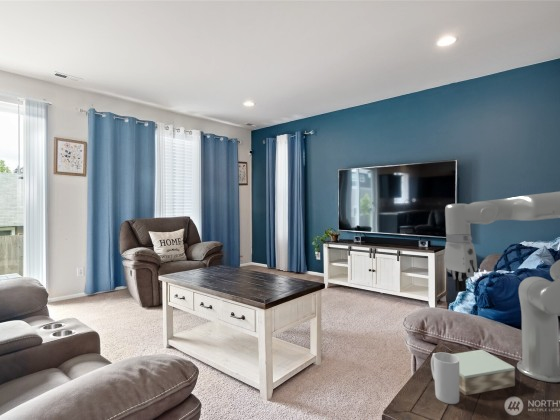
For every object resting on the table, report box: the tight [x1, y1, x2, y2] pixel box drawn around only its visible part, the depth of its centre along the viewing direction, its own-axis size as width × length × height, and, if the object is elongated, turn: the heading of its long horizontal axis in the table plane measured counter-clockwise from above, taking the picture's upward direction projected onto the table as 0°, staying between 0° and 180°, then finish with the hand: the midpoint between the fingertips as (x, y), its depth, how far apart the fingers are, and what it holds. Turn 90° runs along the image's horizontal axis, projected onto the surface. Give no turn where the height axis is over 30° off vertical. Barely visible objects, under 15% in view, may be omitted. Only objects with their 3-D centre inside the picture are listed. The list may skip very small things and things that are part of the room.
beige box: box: [459, 370, 516, 396], centre depth 104 cm, size 18×13×5 cm
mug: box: [430, 351, 460, 405], centre depth 97 cm, size 10×7×12 cm, turn 12°
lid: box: [452, 349, 516, 379], centre depth 104 cm, size 18×12×1 cm
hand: (460, 291), depth 113 cm, fingers closed
